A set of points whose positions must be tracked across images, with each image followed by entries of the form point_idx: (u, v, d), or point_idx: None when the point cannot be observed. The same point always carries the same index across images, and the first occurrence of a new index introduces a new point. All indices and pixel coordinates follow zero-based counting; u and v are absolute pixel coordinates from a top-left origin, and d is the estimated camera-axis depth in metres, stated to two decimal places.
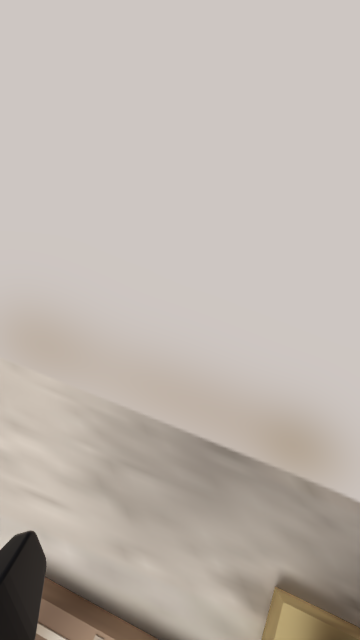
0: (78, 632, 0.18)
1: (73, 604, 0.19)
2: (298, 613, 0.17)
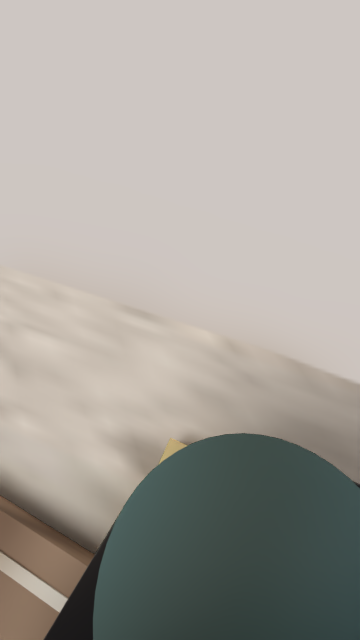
0: None
1: None
2: None
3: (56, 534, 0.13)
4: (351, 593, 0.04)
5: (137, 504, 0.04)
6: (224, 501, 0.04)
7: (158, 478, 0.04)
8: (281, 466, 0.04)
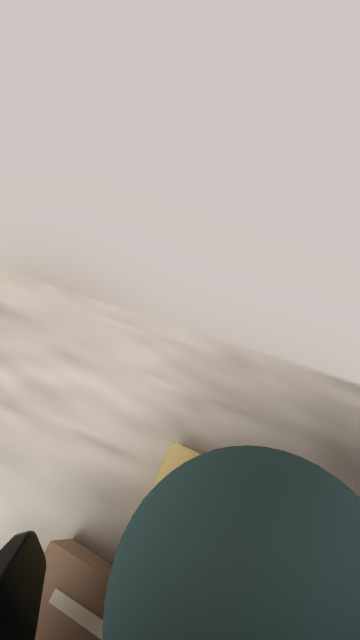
0: None
1: None
2: (190, 453, 0.13)
3: None
4: (354, 605, 0.04)
5: (144, 516, 0.04)
6: (229, 514, 0.04)
7: (164, 490, 0.04)
8: (285, 478, 0.04)
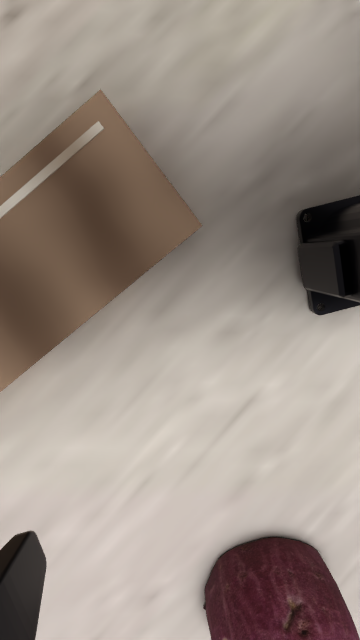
0: None
1: None
2: None
3: None
4: None
5: None
6: None
7: None
8: None
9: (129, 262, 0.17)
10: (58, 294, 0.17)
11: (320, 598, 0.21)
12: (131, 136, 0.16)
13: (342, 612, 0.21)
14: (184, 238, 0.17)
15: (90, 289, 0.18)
